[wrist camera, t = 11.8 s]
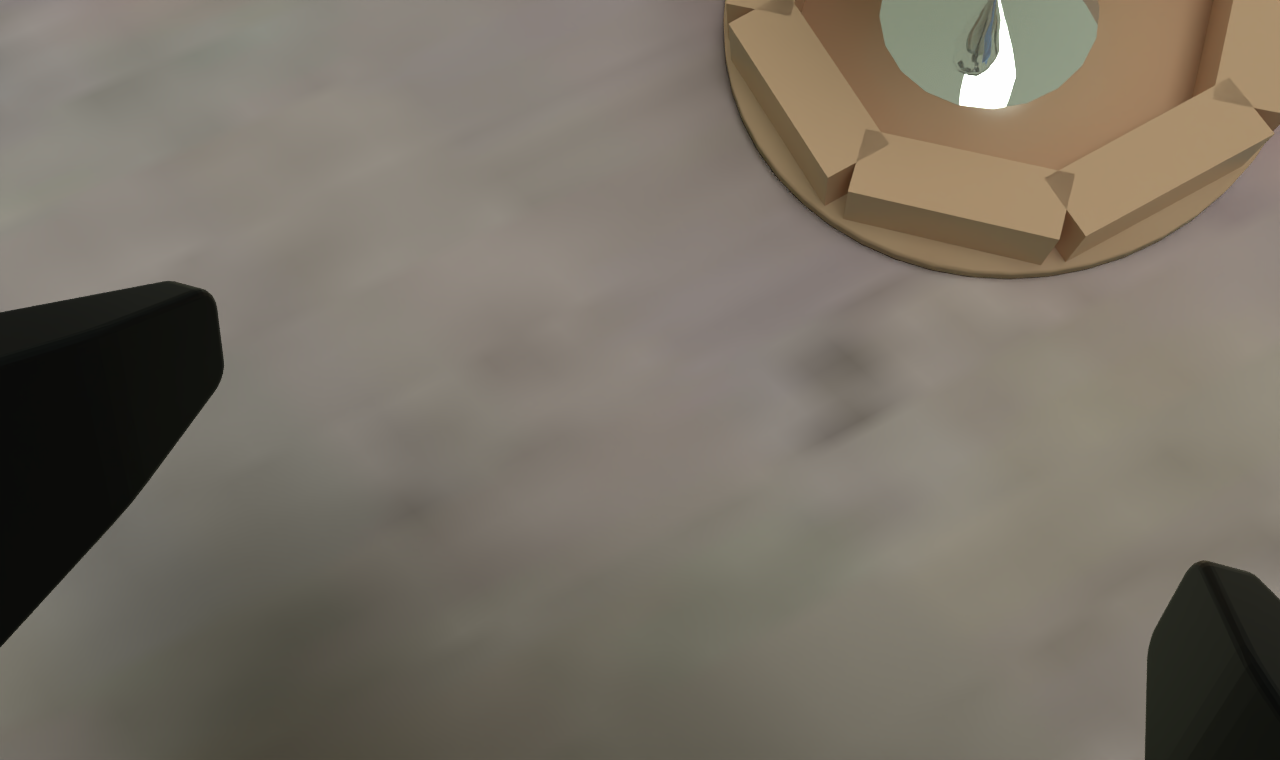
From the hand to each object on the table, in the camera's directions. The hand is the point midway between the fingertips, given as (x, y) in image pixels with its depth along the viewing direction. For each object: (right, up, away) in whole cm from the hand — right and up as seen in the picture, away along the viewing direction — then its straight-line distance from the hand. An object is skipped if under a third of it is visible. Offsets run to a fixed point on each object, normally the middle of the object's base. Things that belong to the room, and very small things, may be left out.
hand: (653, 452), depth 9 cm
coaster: (+8, +9, +15) cm, 20 cm away
